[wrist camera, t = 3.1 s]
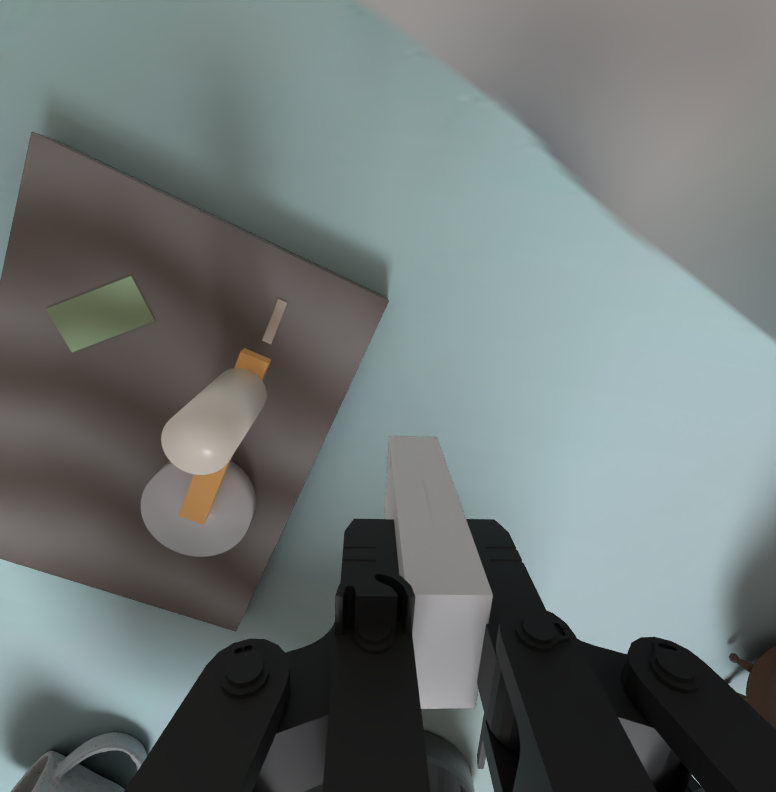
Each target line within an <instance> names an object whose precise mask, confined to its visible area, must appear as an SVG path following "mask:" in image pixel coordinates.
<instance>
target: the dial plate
mask: <svg viewBox="0 0 776 792" xmlns="http://www.w3.org/2000/svg"><path fill="white" fill-rule="evenodd" d="M388 302H389V301H388V298H386V297H384V296H382V295H380V294H378V293H376V292H374V291H372V290H369V289H367V288H365V287H363V286H361V285H359V284H357V283H355V282H353V281H350V280H348V279H346V278H344V277H342V276H340V275H338V274H336V273H334V272H332V271H329V270H327V269H325V268H323V267H321V266H319V265H317V264H315V263H313V262H310V261H308V260H306V259H304V258H302V257H300V256H298V255H296V254H294V253H292V252H289V251H287V250H285V249H283V248H281V247H279V246H277V245H275V244H273V243H271V242H268V241H266V240H264V239H262V238H260V237H258V236H256V235H254V234H252V233H249V232H247V231H245V230H243V229H241V228H239V227H237V226H235V225H233V224H231V223H228V222H226V221H224V220H222V219H220V218H218V217H216V216H214V215H212V214H209V213H207V212H205V211H203V210H201V209H199V208H197V207H195V206H193V205H191V204H188V203H186V202H184V201H182V200H180V199H178V198H176V197H174V196H172V195H170V194H167V193H165V192H163V191H161V190H159V189H157V188H155V187H153V186H151V185H148V184H146V183H144V182H142V181H140V180H138V179H136V178H134V177H132V176H130V175H127V174H125V173H123V172H121V171H119V170H117V169H115V168H113V167H111V166H109V165H106V164H104V163H102V162H100V161H98V160H96V159H94V158H92V157H90V156H87V155H85V154H83V153H81V152H79V151H77V150H75V149H73V148H71V147H69V146H66V145H64V144H62V143H60V142H58V141H56V140H54V139H51V138H48V137H45V136H42V135H40V134H37V133H34V132H31V137H30V141H29V146H28V151H27V156H26V161H25V165H24V170H23V175H22V180H21V185H20V189H19V194H18V199H17V204H16V209H15V213H14V218H13V223H12V228H11V232H10V237H9V242H8V247H7V252H6V256H5V261H4V266H3V271H2V276H1V280H0V559H3V560H6V561H9V562H13V563H16V564H19V565H22V566H26V567H29V568H32V569H35V570H39V571H42V572H45V573H48V574H52V575H55V576H58V577H61V578H65V579H68V580H71V581H74V582H78V583H81V584H84V585H87V586H90V587H94V588H97V589H100V590H103V591H107V592H110V593H113V594H116V595H120V596H123V597H126V598H129V599H133V600H136V601H139V602H142V603H146V604H149V605H152V606H155V607H159V608H162V609H165V610H168V611H172V612H175V613H178V614H181V615H184V616H188V617H191V618H194V619H197V620H201V621H204V622H207V623H210V624H214V625H217V626H220V627H223V628H227V629H230V630H233V631H236V630H237V628H238V626H239V624H240V621H241V619H242V617H243V615H244V613H245V611H246V608H247V606H248V604H249V602H250V600H251V598H252V596H253V593H254V591H255V589H256V587H257V585H258V583H259V580H260V578H261V576H262V574H263V572H264V570H265V567H266V565H267V563H268V561H269V559H270V557H271V554H272V552H273V550H274V548H275V546H276V544H277V541H278V539H279V537H280V535H281V533H282V531H283V529H284V526H285V524H286V522H287V520H288V518H289V516H290V513H291V511H292V509H293V507H294V505H295V503H296V500H297V498H298V496H299V494H300V492H301V490H302V487H303V485H304V483H305V481H306V479H307V477H308V475H309V472H310V470H311V468H312V466H313V464H314V462H315V459H316V457H317V455H318V453H319V451H320V449H321V446H322V444H323V442H324V440H325V438H326V436H327V433H328V431H329V429H330V427H331V425H332V423H333V421H334V418H335V416H336V414H337V412H338V410H339V408H340V405H341V403H342V401H343V399H344V397H345V395H346V392H347V390H348V388H349V386H350V384H351V382H352V379H353V377H354V375H355V373H356V371H357V369H358V367H359V364H360V362H361V360H362V358H363V356H364V354H365V351H366V349H367V347H368V345H369V343H370V341H371V338H372V336H373V334H374V332H375V330H376V328H377V325H378V323H379V321H380V319H381V317H382V315H383V313H384V310H385V308H386V306H387V304H388ZM244 348H246V349H248V350H250V351H253V352H255V353H257V354H260V355H262V356H264V357H267V358H269V359H271V361H270V364H269V366H268V369H267V371H266V374H265V376H264V379H263V383H264V384H265V387H266V391H267V399H266V403H265V405H264V407H263V408H262V410H261V412H260V413H259V415H258V416H257V418H256V419H255V421H254V423H253V424H252V426H251V427H250V429H249V430H248V432H247V434H246V435H245V437H244V438H243V440H242V441H241V443H240V445H239V446H238V448H237V449H236V451H235V452H234V454H233V456H232V458H231V461H232V462H234V463H235V464H237V465H238V466H239V467H240V468H241V469H243V470H244V471H245V473H246V474H247V475H248V477H249V478H250V480H251V481H252V484H253V486H254V489H255V492H256V509H255V512H254V515H253V518H252V520H251V522H250V525H249V527H248V530H247V532H246V533H245V535H244V537H243V538H242V539H241V541H240V542H239V543H238V544H237V545H235V546H234V547H233V548H231V549H229V550H228V551H226V552H223V553H221V554H217V555H213V556H206V557H197V556H189V555H184V554H181V553H178V552H175V551H173V550H171V549H169V548H167V547H166V546H164V545H163V544H161V543H160V542H159V541H158V540H156V539H155V537H154V536H153V535H152V534H151V533H150V531H149V530H148V529H147V527H146V525H145V523H144V520H143V518H142V514H141V498H142V494H143V491H144V489H145V487H146V486H147V484H148V483H149V481H150V480H151V479H152V478H153V477H154V476H155V475H156V474H157V473H158V472H159V470H160V469H161V468H162V467H163V466H164V465H165V464H166V463H168V462H169V461H170V460H169V459H168V458H167V456H166V455H165V453H164V451H163V448H162V443H161V435H162V431H163V428H164V426H165V425H166V423H167V422H168V421H169V420H170V419H171V418H172V417H173V416H174V415H175V414H176V413H178V412H179V411H180V410H181V409H182V408H183V407H184V406H186V405H187V404H188V403H189V402H190V401H191V400H192V399H193V398H195V397H196V396H197V395H198V394H199V393H200V392H201V391H203V390H204V389H205V388H206V387H207V386H208V385H209V384H210V383H212V382H213V381H214V380H215V379H216V378H217V377H218V376H220V375H221V374H222V373H223V372H225V371H227V370H229V369H233V368H234V367H235V365H236V362H237V359H238V357H239V354H240V352H241V351H242V350H243V349H244Z"/></svg>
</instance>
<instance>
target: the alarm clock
mask: <svg viewBox="0 0 776 792" xmlns="http://www.w3.org/2000/svg"><path fill="white" fill-rule="evenodd" d="M729 659H730V660H731V661H732V662H734V663H738V664H739V665H741V666H742V667H743V668H744V669H746V670H747V671H748V672H750V674H749V677H748V681H747V688H746V696H744V695H742V694H739V693H738V694H739V695H740V696H741V697H742V698H743V699H744V700H745V701H746V702H747V703H748V704H749V705H750V706H751V707H753V708H754V709H755V710H756V711H757V712H758V713H759V714H760V715H761V716H762V717H763V718H764V719H765V720H766V721H767V722H768V723H770V724H771V725H772V726H773V727H774V728H775V729H776V646H774V647H772V648H771V649H769V650H768V651H766V652H765V653H764V654H763V655H762V656H761V657H760V658H759V659H758V660H757V661H756V663H755V664H754V665H753V664H751V663H749V662H746V661H744V660H742V659H740V658H739V657H738V656H737V655H736V654H730V656H729ZM732 689H733V688H732Z"/></svg>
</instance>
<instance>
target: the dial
mask: <svg viewBox="0 0 776 792" xmlns="http://www.w3.org/2000/svg"><path fill="white" fill-rule="evenodd" d="M270 361H271V359H269V358H267V357H264V356H262V355H260V354H257V353H255V352H253V351H250V350H248V349H246V348H244V349H243V350H242V351H241V352H240V354H239V357H238V359H237V362H236V365H235V367H234V368H233V369H229V370H227V371H225V372H223V373H222V374H221V375H220V376H218V377H217V378H216V379H215V380H214V381H213V382H212V383H210V384H209V385H208V386H207V387H206V388H205V389H204V390H203V391H201V392H200V393H199V394H198V395H197V396H196V397H195V398H193V399H192V400H191V401H190V402H189V403H188V404H187V405H186V406H184V407H183V408H182V409H181V410H180V411H179V412H178V413H176V414H175V415H174V416H173V417H172V418H171V419H170V420H169V421H168V422H167V423H166V425H165V426H164V428H163V431H162V435H161V443H162V448H163V451H164V453H165V455H166V456H167V458H168V459H169V460H170V461H169V462H168V463H166V464H165V465H164V466H163V467H162V468H161V469H160V470H159V472H158V473H157V474H156V475H155V476H154V477H153V478H152V479H151V480H150V481H149V483H148V484H147V486H146V487H145V489H144V491H143V494H142V498H141V514H142V518H143V520H144V523H145V525H146V527H147V529H148V530H149V531H150V533H151V534H152V535H153V536H154V537H155V539H156V540H158V541H159V542H160V543H161V544H163V545H164V546H166V547H167V548H169V549H171V550H173V551H175V552H178V553H181V554H184V555H189V556H197V557H206V556H213V555H217V554H221V553H223V552H226V551H228V550H229V549H231V548H233V547H234V546H235V545H237V544H238V543H239V542H240V541H241V539H242V538H243V537H244V535H245V533H246V532H247V530H248V527H249V525H250V522H251V520H252V518H253V515H254V512H255V509H256V492H255V489H254V486H253V484H252V481H251V480H250V478H249V477H248V475H247V474H246V473H245V471H244V470H243V469H241V468H240V467H239V466H238V465H237V464H235V463H234V462H232V461H231V458H232V456H233V454H234V452H235V451H236V449H237V448H238V446H239V445H240V443H241V441H242V440H243V438H244V437H245V435H246V434H247V432H248V430H249V429H250V427H251V426H252V424H253V423H254V421H255V419H256V418H257V416H258V415H259V413H260V412H261V410H262V408H263V407H264V405H265V403H266V399H267V391H266V387H265V384H264V383H263V379H264V376H265V374H266V371H267V369H268V366H269V364H270Z"/></svg>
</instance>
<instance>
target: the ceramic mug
mask: <svg viewBox="0 0 776 792" xmlns="http://www.w3.org/2000/svg"><path fill="white" fill-rule="evenodd" d="M112 750H120V751H124V752H125V753H127V754H128V755H130V756H131V759H132V760H133V761H134V762H135V763H136V765H137V770H139V768H140V766H141V765H142V763H143V762H144V760H145V759H146V757H147V754H146V751H145V748H144V747H143V745H142V744H141V743H140V742H139V740H137V739H136V738H134V737H132V736H130V735H128V734H125V733H120V732H113V733H112V732H111V733H106V734H102V735H98V736H96V737H94V738H91V739H90V740H88V741H86V742H85V743H84V744H82V745H81V746H80V747H78V748H77V749H76V750H74V751H73V752H72V753H71V754H70V755H68V756H67V757H65V756H63V755H62V754H59V753H57V752H54V751H48V752H46V753H45V754H44V755H43V756H41V757H40V758H39V759H38V760H37V761H36V762H35V763H34V764H33V765H32V766H31V767H30V768H29V770H28V771H27V772H26V773H25V774H24V776H23V777H22V778H21V780H20V781H19V782H18V783H17V785H16V786H15V787H14V788H13V790H12V791H11V792H124V791H125V789H123V788H122V787H121V786H120V785H118V784H116V783H114V782H112V781H110V780H109V779H106V778H104V777H102V776H100V775H97V774H96V773H94V772H93V771H91V770H89V769H88V768H86V767H84V766H82V765H80V764H78V763H80V762H81V761H83V760H84V759H86V758H88V757H90V756H92V755H94V754H97V753H100V752H106V751H112Z"/></svg>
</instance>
